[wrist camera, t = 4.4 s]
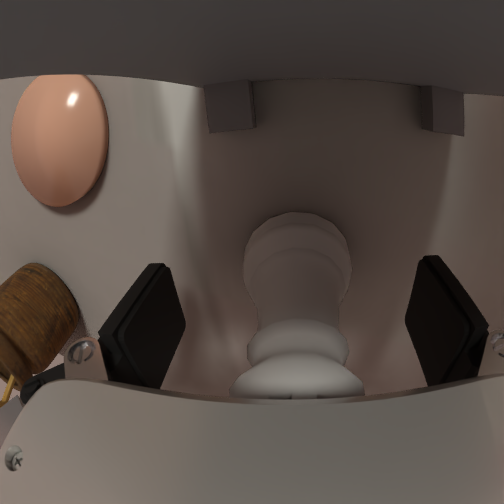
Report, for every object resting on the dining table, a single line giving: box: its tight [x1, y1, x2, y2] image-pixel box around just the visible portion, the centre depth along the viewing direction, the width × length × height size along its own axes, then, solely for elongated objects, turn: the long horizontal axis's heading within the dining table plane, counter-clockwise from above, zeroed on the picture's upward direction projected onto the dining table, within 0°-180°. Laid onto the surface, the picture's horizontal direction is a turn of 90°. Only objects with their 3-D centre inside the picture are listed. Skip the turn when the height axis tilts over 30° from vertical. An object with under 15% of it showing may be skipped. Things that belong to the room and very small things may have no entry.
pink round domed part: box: [11, 75, 109, 207], centre depth 10 cm, size 7×7×1 cm
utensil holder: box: [0, 263, 79, 408], centre depth 11 cm, size 6×6×12 cm
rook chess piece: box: [229, 212, 365, 400], centre depth 9 cm, size 4×4×8 cm
